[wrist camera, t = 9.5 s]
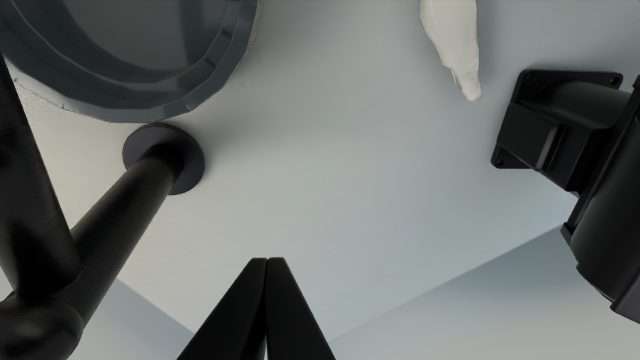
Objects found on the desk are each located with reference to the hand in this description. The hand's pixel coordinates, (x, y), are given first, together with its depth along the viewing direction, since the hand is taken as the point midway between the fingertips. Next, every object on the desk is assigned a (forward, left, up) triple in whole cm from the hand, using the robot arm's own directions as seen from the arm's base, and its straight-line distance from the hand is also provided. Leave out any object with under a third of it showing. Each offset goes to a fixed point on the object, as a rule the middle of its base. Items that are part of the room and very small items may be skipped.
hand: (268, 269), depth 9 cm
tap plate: (+7, +3, -13) cm, 15 cm away
